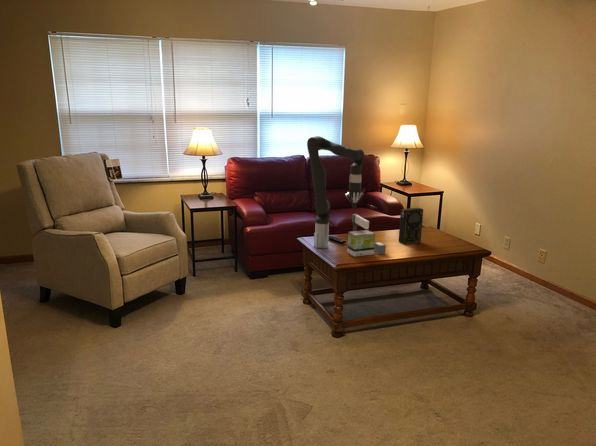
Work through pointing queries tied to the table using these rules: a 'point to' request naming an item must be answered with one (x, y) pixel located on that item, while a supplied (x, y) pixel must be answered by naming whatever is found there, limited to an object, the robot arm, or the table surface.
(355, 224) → the arm post
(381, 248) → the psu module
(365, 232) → the tea box
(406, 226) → the dark grey tall block
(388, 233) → the table surface
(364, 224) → the bar
